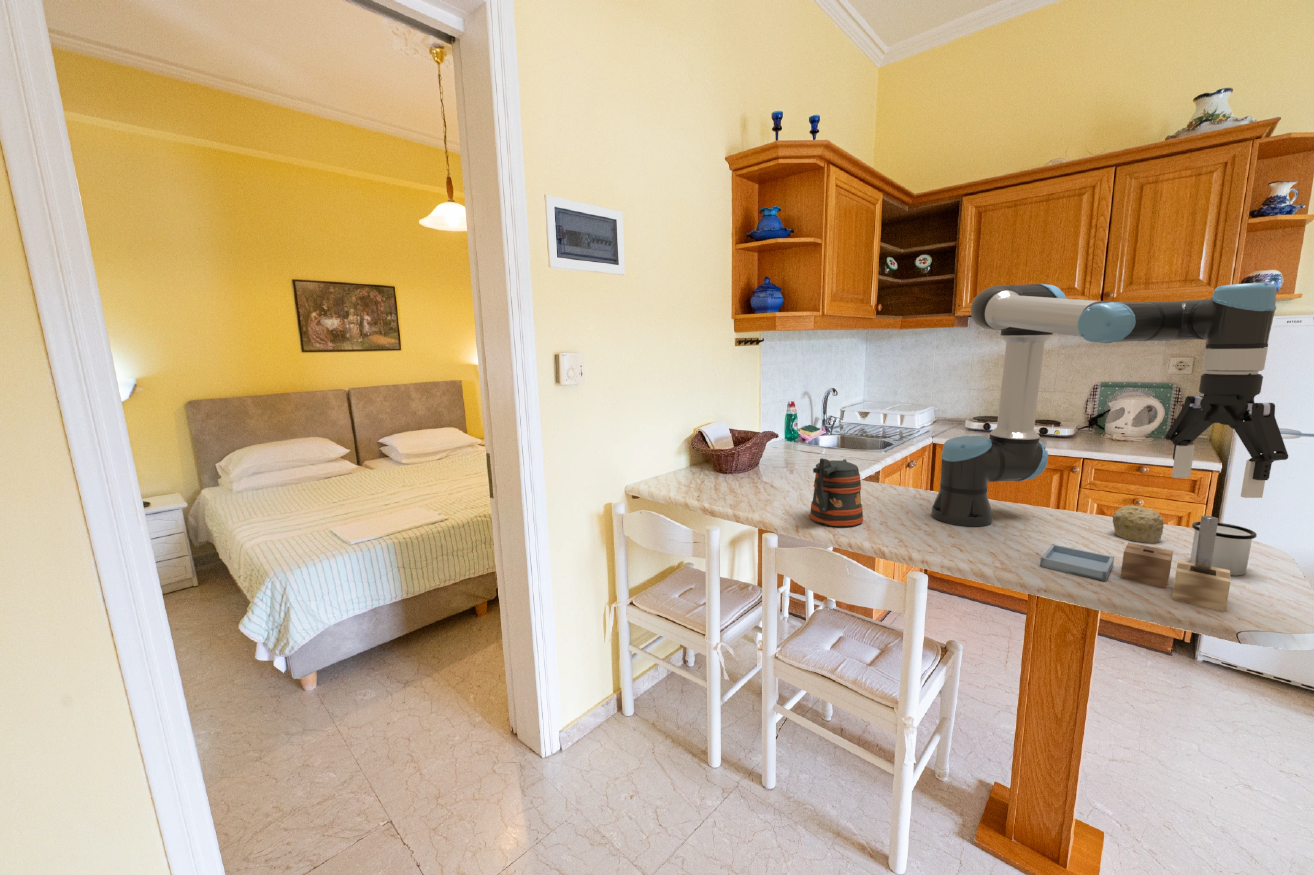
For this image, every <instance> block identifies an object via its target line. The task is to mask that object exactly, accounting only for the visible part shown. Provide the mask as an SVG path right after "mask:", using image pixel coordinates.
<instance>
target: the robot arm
mask: <svg viewBox="0 0 1314 875" xmlns="http://www.w3.org/2000/svg"><path fill="white" fill-rule="evenodd" d="M1277 288H1278V287H1277V286H1276V284H1274V283H1270V282H1249V283H1235V284H1226V285H1220V286H1217V287H1216V288H1215V289H1214V290H1213V295H1212V296H1211V297H1210V298H1205V299H1191V300H1171V301H1169V300H1168V301H1167V300H1166V301H1165V300H1164V301H1143V302H1141V301H1139V302H1138V301H1133V302H1132V301H1131V302H1129V301H1128V302H1127V301H1123V302H1122V301H1107V300H1106V301H1105V300H1089V299H1088V300H1087V299H1075V298H1074V299H1073V298H1067V296H1066V295H1065V292H1063V291H1062V289H1061V288H1060V287H1058V286H1055V285H1053V284H1044V283H1033V284H1032V283H1031V284H1028V283H1027V284H1000V285H994V286H991V287H988V288H986V289H984V290H982V291H981V292H980V293H978V294H977V295H976V296H975V297H974V299H973V301H972V303H971V306H970V316H971V319H972V320H973V322H974V323H975V324H976V325H978V326H979V327H981V328H982V329H986V330H994V331H997V330H998V331H1000V338H1001V339H1002V340H1004V342H1005V350H1004V351H1005V352H1004V359H1003V369H1002V376H1001V378H1002V379H1001V388H1000V395H999V405H998V416H997V421H996V422H997V424H996V428H994V429H993V430H991V431H990V432H989V437H988V436H982V435H970V436H969V435H963V436H956V437H952V438H949V439H947V440H946V441H945V442H944V443H943V445H942V449H941V450H942V451H941V455H940V457H941V466H940V479H939V480H940V481H939V482H940V483H939V490H938V494H937V495H936V497H935V500H934V501H933V504H932V506H931V517H932V518H934V519H935V520H937V521H941V522H943V523H946V524H949V525H950V524H951V525H955V526H963V527H984V526H989V525H991V524H992V523H993V517H994V516H993V511H992V510H993V509H992V507H991V503H990V501H989V497H988V486H989V483H996V482H997V483H998V482H1023V481H1028V480H1033V479H1036V478H1037V477H1038V476H1040V475H1041V474H1042V473H1044V471H1045V469H1046V467H1047V465H1048V462H1049V453H1048V450H1047V448H1046V446H1045V444H1044V443H1043V442H1042V441H1040V437H1041V436H1040V434H1038V433H1037V432H1036V431H1035V424H1036V416H1037V415H1036V414H1037V406H1038V399H1039V392H1040V390H1039V389H1040V381H1041V375H1042V366H1043V360H1044V351H1045V344H1046V341H1048V340H1049V339H1050V338H1051V337H1053V336H1054V334H1058V335H1064V336H1065V335H1067V336H1073V337H1079V338H1080V337H1081V338H1083V339H1084V340H1085V341H1088V342H1089V343H1091V342H1092V343H1101V344H1111V343H1118V342H1119V343H1122V342H1123V343H1124V342H1126V343H1127V342H1169V341H1187V340H1188V341H1190V340H1191V341H1192V340H1201V341H1202V340H1204V341H1205V340H1206V341H1205V348H1204V353H1203V360H1202V366H1201V370H1203V371H1205V372H1206V373H1203V374H1202V375H1200V381H1199V382H1200V383H1199V388H1198V392H1199V393H1200V394H1202V395H1190V396H1189V395H1188V396H1186V397H1185V400H1184V403H1183V407H1182V408H1181V410H1180V411H1179V413H1178V415H1177V416H1176V418H1175V419H1174V420H1173V423H1172V424H1171V426H1170V427H1169V429H1168V430H1167V431H1166V434H1165V435H1164V439H1166V441H1168V440H1169V441H1170V442H1172V444H1173V445H1174V446H1173V453H1172V460H1173V466H1172V472H1171V478H1173V479H1190V478H1191V472H1192V468H1193V467H1192V466H1193V460H1194V452H1195V445H1194V444H1195V442H1194V441H1195V440H1196V439H1197V438H1198V437H1200V436H1201V435H1202V434H1203V433H1204V432H1205V431H1207V430H1208V429H1209V428H1210V427H1212V425H1213V424H1220V425H1225V426H1228V427H1229V428H1231V429H1233V430H1234V431H1235V432H1236V435H1237V436H1238V437H1239V439H1240V442H1242V445H1243V446H1244V447H1245V449H1246V450H1247V452H1248V453H1249V456H1250V457H1251V458H1249V459H1247V460H1246V461H1245V468H1244V474H1243V480H1242V485H1241V486H1242V487H1241V492H1240V497H1241V498H1245V499H1247V498H1249V499H1250V498H1251V499H1254V498H1255V499H1257V498H1259V499H1260V498H1261V499H1263V495H1264V489H1265V483H1266V481H1268V480H1269V479H1270V475H1271V470H1272V464H1273V463H1274V462H1276V461H1277V462H1278V461H1286V460H1288V459H1289V453H1288V451H1287V448H1286V445H1285V442H1284V439H1283V437H1282V434H1281V431H1280V428H1279V425H1278V422H1277V418H1276V416H1275V415H1276V404H1275V403H1274V402H1255V397H1256V396H1257V395H1258V396H1259V394H1261V391H1262V386H1263V379H1264V376H1263V375H1262V374H1261V373H1259V372H1262V371H1264V370H1265V367H1266V366H1265V365H1266V362H1267V361H1266V360H1267V356H1268V355H1267V354H1268V348H1269V338H1270V333H1271V330H1272V327H1273V326H1272V325H1273V321H1274V316H1275V311H1277V306H1276V301H1277Z"/></svg>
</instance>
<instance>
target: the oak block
mask: <svg viewBox="0 0 1314 875" xmlns="http://www.w3.org/2000/svg"><path fill="white" fill-rule="evenodd" d="M1194 566H1195V563H1191V562H1190V561H1185V560H1180V559H1178V560H1177V566H1176V569H1175V575H1174V576H1175V577H1174V582H1173V588H1172V589H1173V590H1172V596H1171V597H1172V598H1171V600H1174V601H1177V602H1178V601H1179V602H1182V603H1187V604H1190V605H1193V606H1199V607H1204V608H1208V609H1212V610H1215V611H1220V612H1224V613H1225V612H1226V610H1227V604H1228V599H1229V592H1230V587H1231V575H1230V570H1226V569H1221V568H1216V567H1211V574H1210V575H1209V574H1204V573H1199V572H1194Z"/></svg>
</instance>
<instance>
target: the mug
mask: <svg viewBox="0 0 1314 875" xmlns="http://www.w3.org/2000/svg"><path fill="white" fill-rule="evenodd" d="M1200 522H1201V521H1195V522H1192V525H1191V528H1193V529H1194V534H1193V540H1192V545H1191V546H1192V547H1191V552H1190V558H1189V562H1191V563H1195V559H1196V551H1197V544H1198V536H1199V529H1200ZM1257 536H1258V534H1257V533H1256V532H1255V531H1253V530H1251V529H1249V528H1246V527H1243V526H1239V525H1235V524H1231V523H1225V522H1218V524H1217V531H1216V538H1215V546H1214V553H1213V560H1212V567H1216V568H1221V569H1226V570H1230V576H1233V577H1234V576H1236V577H1237V576H1242V575H1246V574H1247V568H1248V564H1249V559H1250V553H1251V552H1250V551H1251V546H1252V540H1254V539H1256V538H1257Z"/></svg>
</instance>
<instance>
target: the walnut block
mask: <svg viewBox="0 0 1314 875" xmlns="http://www.w3.org/2000/svg"><path fill="white" fill-rule="evenodd" d="M1124 548H1125V549H1124V550H1123V556H1122V564H1121V570H1120V578H1121V579H1125V580H1130V581H1133V582H1139V583H1143V584H1147V585H1152V586H1156V587H1160V588H1165V589H1167V588H1168V582H1169V580H1170V579H1169V578H1170V575H1171V568H1172V563H1173V562H1172V560H1173V554H1174V551H1173V550H1170V549H1165V548H1160V547H1154V546H1149V545H1144V544H1139V543H1133V542H1127V544H1126V546H1125V547H1124Z"/></svg>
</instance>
